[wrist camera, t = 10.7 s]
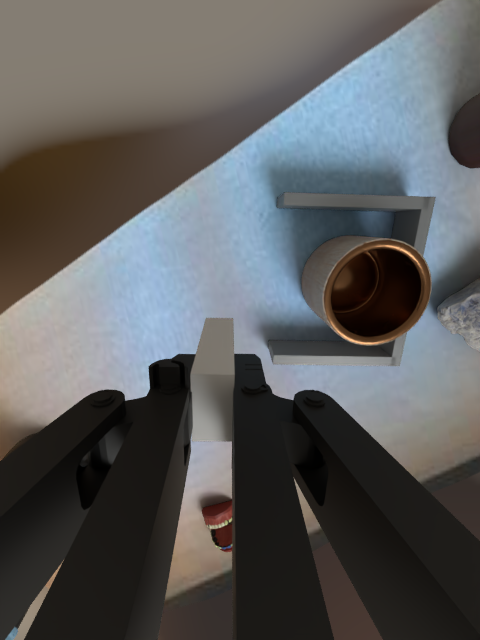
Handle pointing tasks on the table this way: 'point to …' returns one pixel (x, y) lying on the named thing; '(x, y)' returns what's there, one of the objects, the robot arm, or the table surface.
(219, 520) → the dentures
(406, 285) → the planter
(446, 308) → the rock
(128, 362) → the table surface
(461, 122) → the beer bottle
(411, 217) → the box
